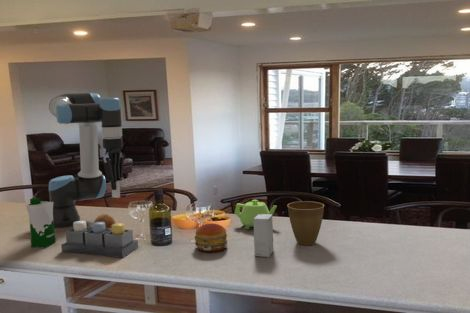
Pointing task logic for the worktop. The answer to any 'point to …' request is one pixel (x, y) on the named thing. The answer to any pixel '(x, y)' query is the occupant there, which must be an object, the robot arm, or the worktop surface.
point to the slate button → (98, 227)
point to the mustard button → (118, 229)
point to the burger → (211, 238)
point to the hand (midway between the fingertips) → (116, 197)
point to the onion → (105, 220)
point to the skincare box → (263, 235)
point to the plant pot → (306, 220)
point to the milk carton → (41, 223)
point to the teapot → (252, 212)
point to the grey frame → (99, 243)
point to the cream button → (79, 226)
